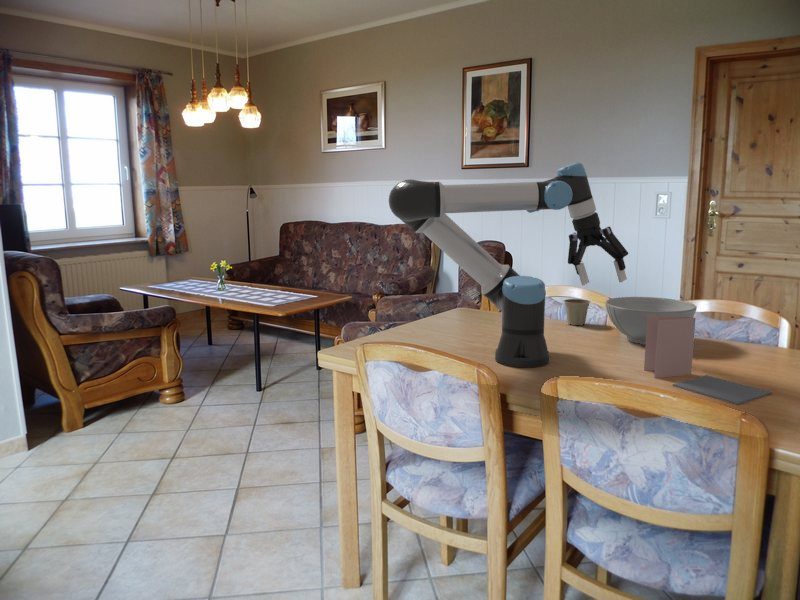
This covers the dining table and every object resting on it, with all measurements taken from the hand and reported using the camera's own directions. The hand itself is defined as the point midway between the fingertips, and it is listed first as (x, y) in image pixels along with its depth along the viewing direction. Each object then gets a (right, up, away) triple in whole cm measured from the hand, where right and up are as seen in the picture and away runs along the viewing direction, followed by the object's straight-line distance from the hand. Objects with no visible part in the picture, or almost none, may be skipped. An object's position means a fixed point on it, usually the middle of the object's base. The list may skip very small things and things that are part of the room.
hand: (603, 282), depth 179 cm
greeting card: (+8, -25, -25) cm, 36 cm away
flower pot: (+3, -14, +37) cm, 40 cm away
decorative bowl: (+18, -19, +12) cm, 28 cm away
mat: (+15, -27, -37) cm, 48 cm away
